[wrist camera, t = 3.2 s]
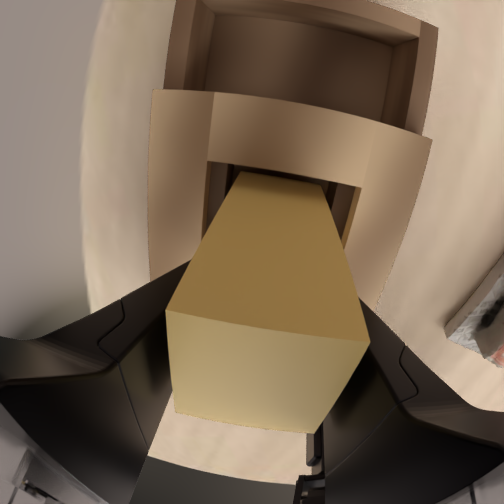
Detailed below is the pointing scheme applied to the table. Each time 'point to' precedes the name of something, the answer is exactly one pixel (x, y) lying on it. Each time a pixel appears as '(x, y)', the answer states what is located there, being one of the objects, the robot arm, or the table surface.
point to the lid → (280, 159)
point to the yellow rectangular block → (266, 311)
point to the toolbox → (304, 67)
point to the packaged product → (482, 318)
